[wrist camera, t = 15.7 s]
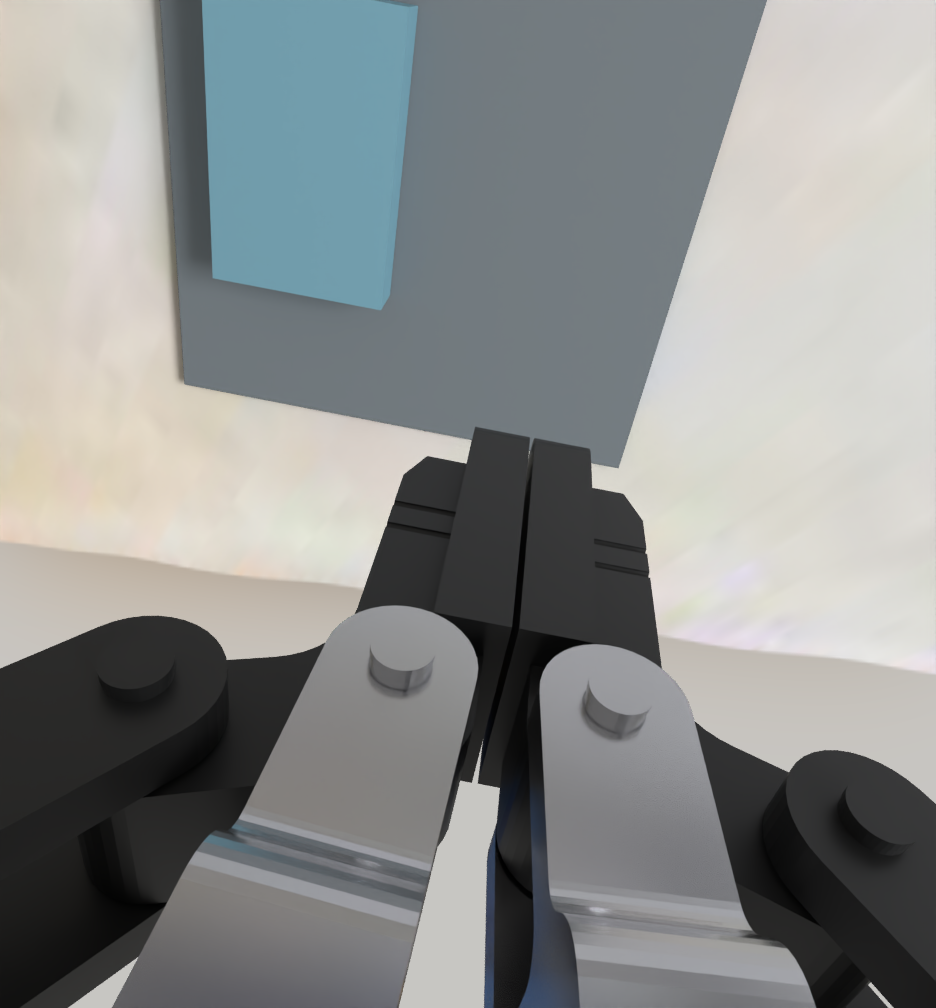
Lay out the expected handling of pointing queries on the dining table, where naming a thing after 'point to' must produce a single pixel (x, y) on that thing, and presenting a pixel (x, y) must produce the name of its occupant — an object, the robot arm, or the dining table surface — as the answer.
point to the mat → (490, 221)
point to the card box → (307, 142)
